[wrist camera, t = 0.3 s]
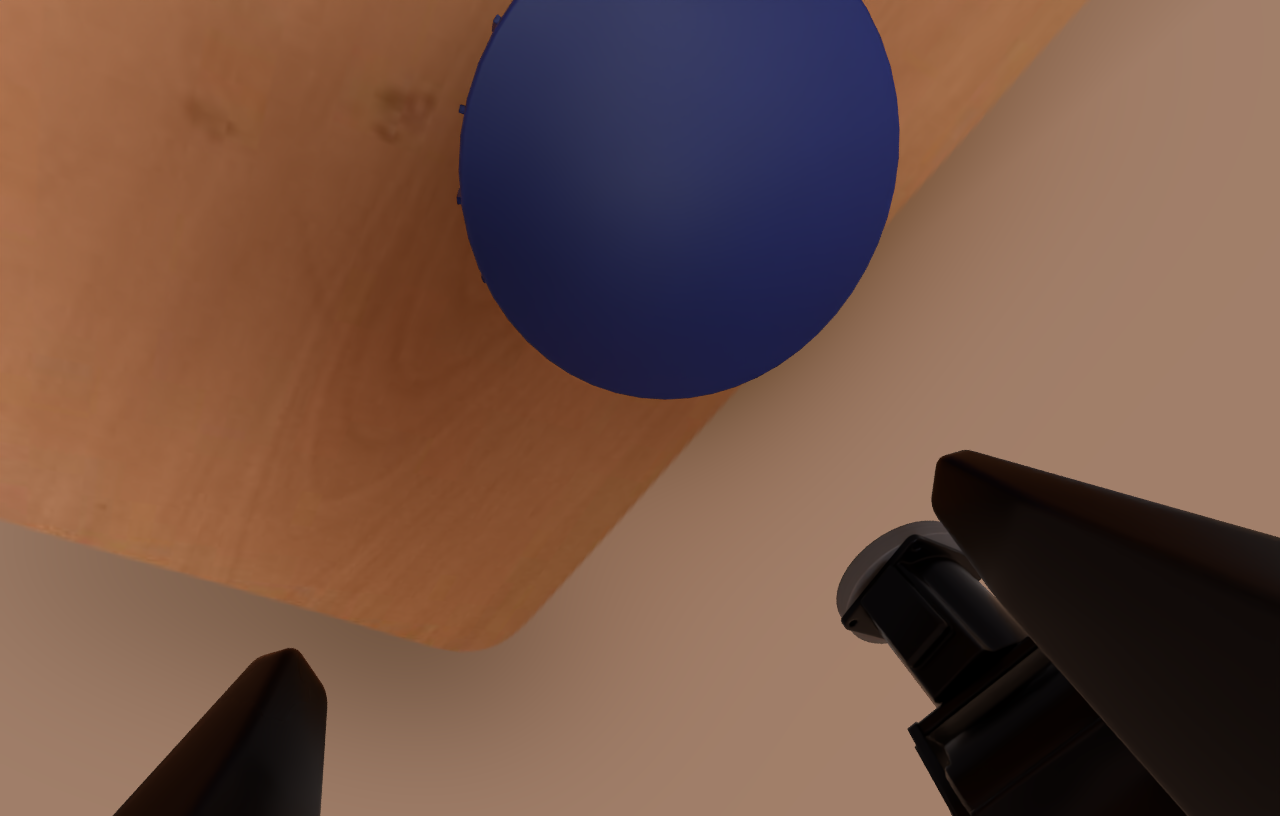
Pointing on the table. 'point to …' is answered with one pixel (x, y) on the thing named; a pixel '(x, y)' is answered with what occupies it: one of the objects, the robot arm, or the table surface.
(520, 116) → the lid
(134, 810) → the robot arm
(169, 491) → the table surface
